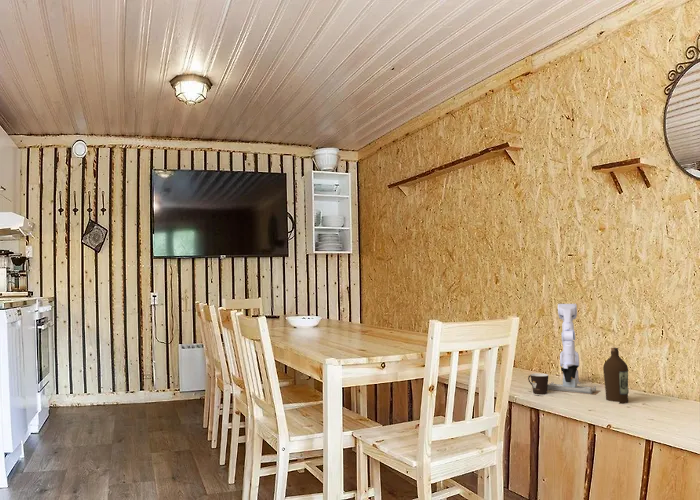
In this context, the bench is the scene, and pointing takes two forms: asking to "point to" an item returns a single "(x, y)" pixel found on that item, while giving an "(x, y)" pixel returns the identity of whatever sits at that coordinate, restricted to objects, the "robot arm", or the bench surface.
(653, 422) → the bench surface
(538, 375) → the coffee mug
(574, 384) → the block
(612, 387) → the olive oil
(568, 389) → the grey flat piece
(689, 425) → the bench surface
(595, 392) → the board
